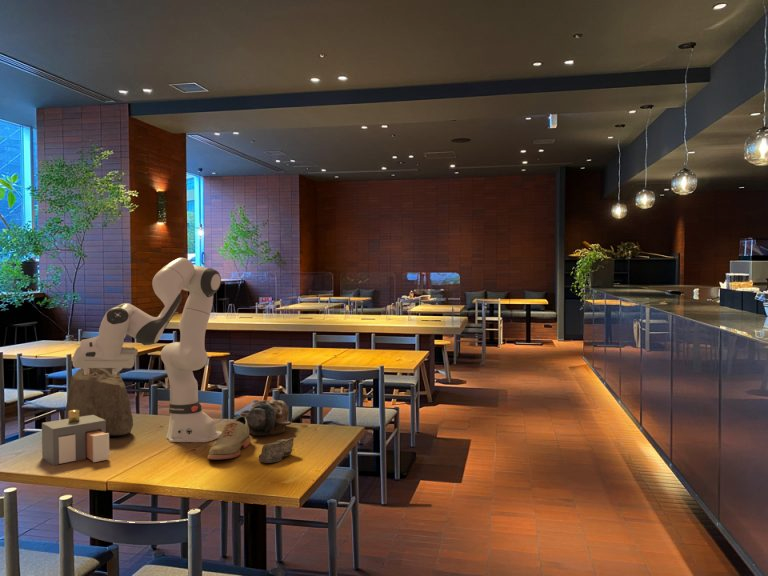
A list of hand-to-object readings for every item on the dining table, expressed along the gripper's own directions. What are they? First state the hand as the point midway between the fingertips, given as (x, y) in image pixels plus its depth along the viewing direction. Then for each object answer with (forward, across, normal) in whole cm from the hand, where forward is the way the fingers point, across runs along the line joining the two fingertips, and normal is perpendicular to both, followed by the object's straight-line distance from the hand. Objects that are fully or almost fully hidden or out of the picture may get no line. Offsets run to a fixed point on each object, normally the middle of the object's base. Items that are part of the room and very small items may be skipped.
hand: (100, 373), depth 218 cm
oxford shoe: (+8, -43, +33) cm, 55 cm away
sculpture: (+19, -68, +16) cm, 72 cm away
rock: (-4, -54, +46) cm, 71 cm away
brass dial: (+21, +6, +5) cm, 22 cm away
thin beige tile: (+30, +9, +15) cm, 34 cm away
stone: (+52, -13, -13) cm, 55 cm away
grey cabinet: (+31, +4, +13) cm, 34 cm away
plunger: (+25, -1, +18) cm, 31 cm away
